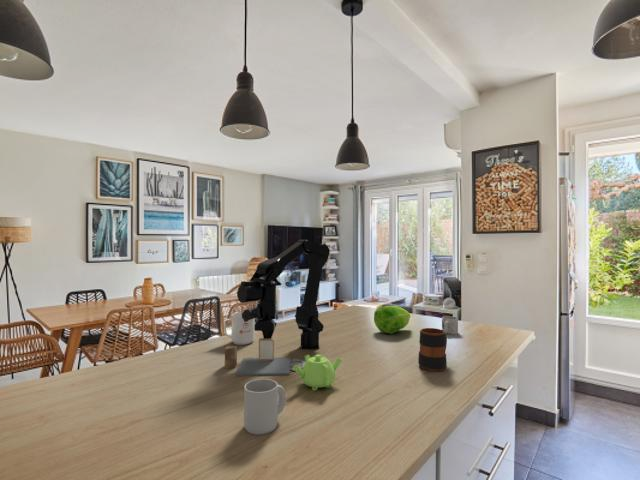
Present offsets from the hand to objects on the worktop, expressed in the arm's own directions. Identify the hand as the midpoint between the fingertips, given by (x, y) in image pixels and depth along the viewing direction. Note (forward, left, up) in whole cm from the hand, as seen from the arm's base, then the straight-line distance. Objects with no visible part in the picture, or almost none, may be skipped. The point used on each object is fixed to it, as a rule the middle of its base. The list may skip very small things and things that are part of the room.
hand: (267, 345), depth 120 cm
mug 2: (-55, +8, -5) cm, 56 cm away
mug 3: (-76, -31, -5) cm, 82 cm away
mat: (0, +7, -5) cm, 9 cm away
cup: (-4, +42, -5) cm, 43 cm away
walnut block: (+11, +6, -5) cm, 13 cm away
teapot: (-16, +21, -5) cm, 27 cm away
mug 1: (+13, -20, -5) cm, 24 cm away
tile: (0, +2, -4) cm, 5 cm away
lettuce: (-53, -35, -5) cm, 64 cm away
